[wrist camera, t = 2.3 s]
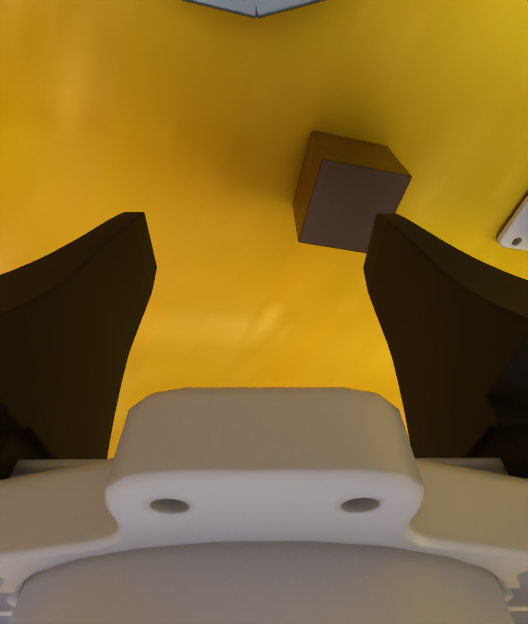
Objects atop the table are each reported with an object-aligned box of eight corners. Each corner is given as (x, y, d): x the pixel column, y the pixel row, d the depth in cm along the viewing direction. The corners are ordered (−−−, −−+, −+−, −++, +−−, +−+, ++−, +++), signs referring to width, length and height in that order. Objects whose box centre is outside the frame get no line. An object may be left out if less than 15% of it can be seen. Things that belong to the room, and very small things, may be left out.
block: (387, 145, 18) (413, 176, 15) (359, 217, 21) (376, 255, 18) (311, 129, 18) (322, 158, 15) (292, 205, 20) (297, 243, 17)
